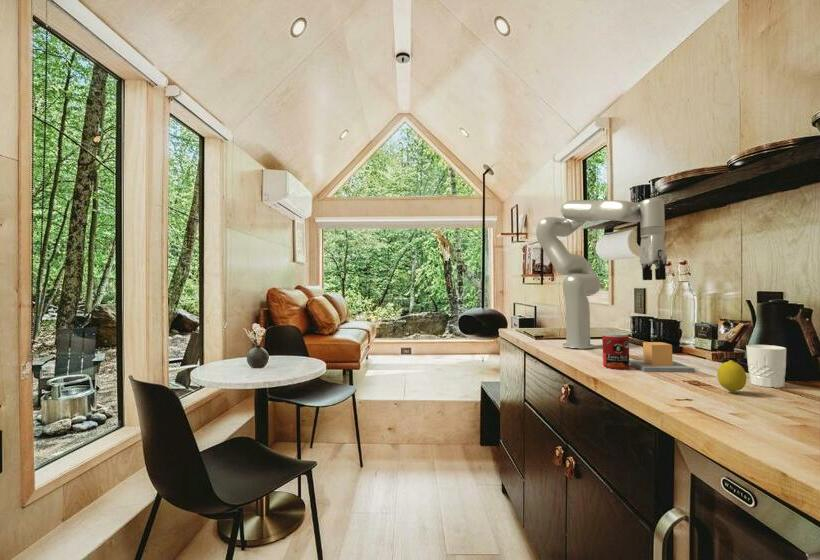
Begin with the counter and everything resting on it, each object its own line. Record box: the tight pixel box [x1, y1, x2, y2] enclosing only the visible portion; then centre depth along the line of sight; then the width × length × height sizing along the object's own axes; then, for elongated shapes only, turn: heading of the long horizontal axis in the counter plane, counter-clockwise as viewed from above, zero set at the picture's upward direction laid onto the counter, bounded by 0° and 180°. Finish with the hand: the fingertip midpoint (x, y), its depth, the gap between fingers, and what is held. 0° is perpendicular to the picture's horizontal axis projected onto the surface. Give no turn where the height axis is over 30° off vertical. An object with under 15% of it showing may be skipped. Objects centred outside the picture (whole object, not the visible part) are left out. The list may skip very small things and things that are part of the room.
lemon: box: [716, 360, 747, 394], centre depth 97 cm, size 6×6×8 cm
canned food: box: [601, 331, 630, 371], centre depth 129 cm, size 8×8×11 cm
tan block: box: [642, 341, 674, 366], centre depth 128 cm, size 6×6×6 cm
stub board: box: [629, 359, 695, 373], centre depth 127 cm, size 13×14×6 cm
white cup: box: [745, 344, 787, 389], centre depth 105 cm, size 8×8×10 cm
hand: (653, 279), depth 144 cm, fingers open, 9 cm apart
